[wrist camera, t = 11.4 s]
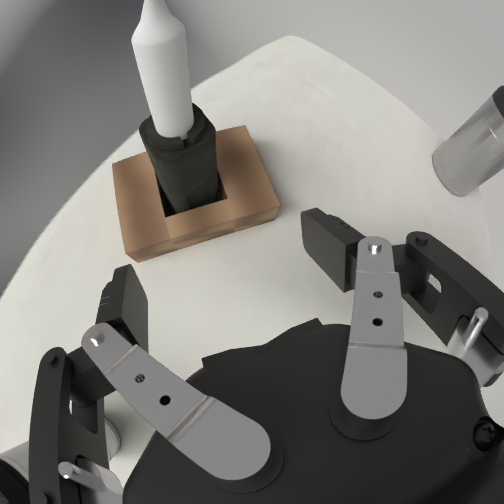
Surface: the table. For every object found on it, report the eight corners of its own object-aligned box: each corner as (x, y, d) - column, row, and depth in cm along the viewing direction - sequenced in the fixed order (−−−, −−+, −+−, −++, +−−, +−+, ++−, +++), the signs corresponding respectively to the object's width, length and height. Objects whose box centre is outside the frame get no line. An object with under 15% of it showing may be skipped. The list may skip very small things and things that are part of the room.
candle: (200, 172, 32) (179, -35, 8) (222, 204, 31) (225, -21, 7) (163, 194, 31) (91, -7, 7) (184, 227, 30) (109, 11, 6)
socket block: (243, 144, 34) (245, 125, 30) (274, 220, 31) (280, 205, 27) (122, 180, 31) (112, 163, 27) (137, 262, 29) (125, 253, 25)
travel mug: (132, 453, 23) (51, 552, 3) (89, 457, 22) (-1, 530, 2) (110, 407, 24) (-6, 476, 5) (68, 413, 23) (-46, 461, 4)
